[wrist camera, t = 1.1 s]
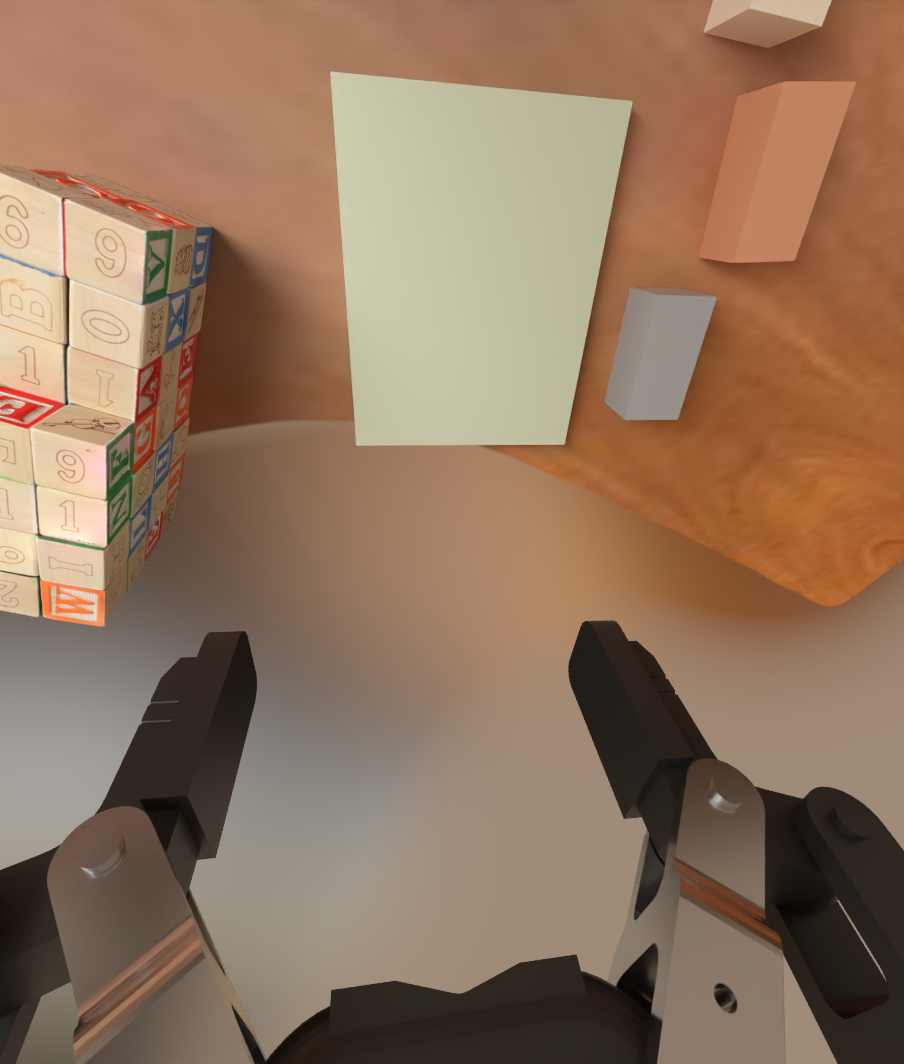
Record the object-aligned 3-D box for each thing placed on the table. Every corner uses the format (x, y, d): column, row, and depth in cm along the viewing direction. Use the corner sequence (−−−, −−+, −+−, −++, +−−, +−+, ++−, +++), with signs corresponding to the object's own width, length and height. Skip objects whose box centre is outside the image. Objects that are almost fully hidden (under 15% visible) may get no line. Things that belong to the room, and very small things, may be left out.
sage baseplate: (332, 77, 24) (330, 71, 23) (623, 105, 26) (632, 101, 25) (356, 439, 35) (356, 445, 34) (559, 438, 38) (564, 444, 37)
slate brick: (629, 286, 32) (657, 295, 29) (683, 287, 32) (717, 296, 29) (603, 401, 36) (625, 420, 33) (651, 401, 37) (677, 419, 34)
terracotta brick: (735, 96, 27) (784, 81, 24) (799, 96, 27) (856, 81, 24) (696, 257, 32) (733, 262, 28) (752, 255, 32) (794, 260, 29)
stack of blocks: (91, 171, 25) (-100, 146, 15) (216, 225, 27) (120, 235, 17) (86, 496, 36) (-30, 610, 25) (176, 519, 38) (102, 632, 27)
